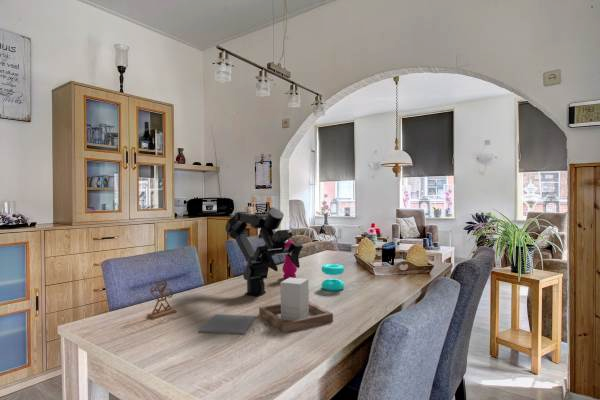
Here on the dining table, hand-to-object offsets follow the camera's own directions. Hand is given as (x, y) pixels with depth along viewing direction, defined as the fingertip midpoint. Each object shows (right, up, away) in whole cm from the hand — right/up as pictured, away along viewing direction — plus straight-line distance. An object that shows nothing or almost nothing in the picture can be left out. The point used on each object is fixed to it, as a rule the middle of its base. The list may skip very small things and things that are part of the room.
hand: (288, 268), depth 122 cm
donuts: (+19, -15, +29) cm, 37 cm away
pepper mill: (-1, -14, +48) cm, 50 cm away
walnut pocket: (+3, -15, -8) cm, 17 cm away
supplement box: (+3, -15, -8) cm, 17 cm away
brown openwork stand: (-43, -15, -4) cm, 46 cm away
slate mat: (-18, -15, -13) cm, 27 cm away
